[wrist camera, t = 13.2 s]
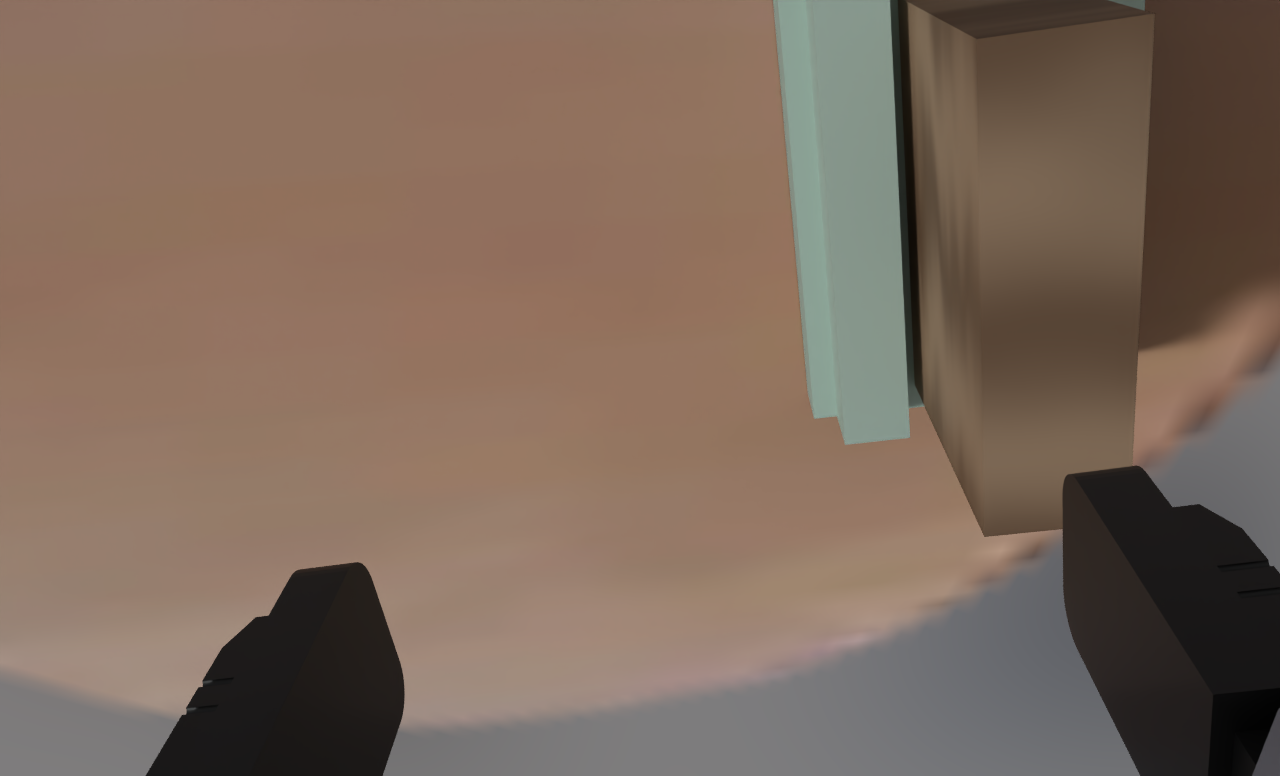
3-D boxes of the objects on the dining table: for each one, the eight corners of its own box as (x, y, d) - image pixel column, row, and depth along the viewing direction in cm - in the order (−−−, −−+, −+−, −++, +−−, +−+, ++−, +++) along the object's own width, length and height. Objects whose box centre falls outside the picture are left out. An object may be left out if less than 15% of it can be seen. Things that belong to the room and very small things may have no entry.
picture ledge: (769, -36, 32) (780, -26, 28) (1121, -89, 31) (1179, -85, 27) (807, 392, 38) (821, 447, 34) (1104, 358, 37) (1150, 411, 33)
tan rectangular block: (897, -4, 30) (976, 39, 22) (1026, -23, 30) (1155, 13, 22) (914, 384, 35) (984, 536, 27) (1025, 372, 35) (1129, 522, 27)
